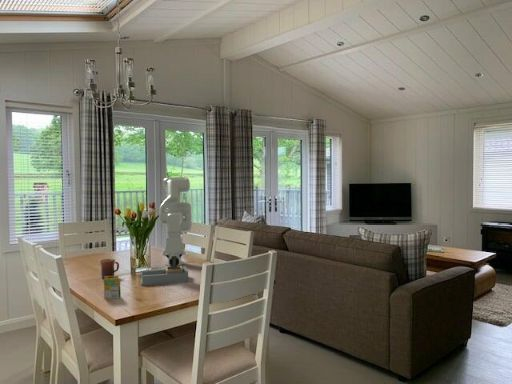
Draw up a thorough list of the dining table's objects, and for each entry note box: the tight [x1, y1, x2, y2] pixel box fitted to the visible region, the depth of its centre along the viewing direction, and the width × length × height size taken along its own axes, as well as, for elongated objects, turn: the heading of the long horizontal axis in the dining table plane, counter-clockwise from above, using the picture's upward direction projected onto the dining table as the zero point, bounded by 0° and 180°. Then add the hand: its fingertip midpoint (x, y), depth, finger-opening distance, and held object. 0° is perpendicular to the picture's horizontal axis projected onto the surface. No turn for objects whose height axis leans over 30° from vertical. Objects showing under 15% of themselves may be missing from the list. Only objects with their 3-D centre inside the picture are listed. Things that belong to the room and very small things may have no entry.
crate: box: [165, 256, 183, 274], centre depth 233 cm, size 9×9×12 cm
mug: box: [99, 258, 120, 279], centre depth 239 cm, size 12×9×10 cm
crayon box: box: [103, 275, 121, 300], centre depth 200 cm, size 7×3×12 cm, turn 92°
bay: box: [140, 266, 189, 286], centre depth 232 cm, size 13×26×6 cm, turn 106°
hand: (174, 265), depth 233 cm, fingers closed on crate, 2 cm apart
